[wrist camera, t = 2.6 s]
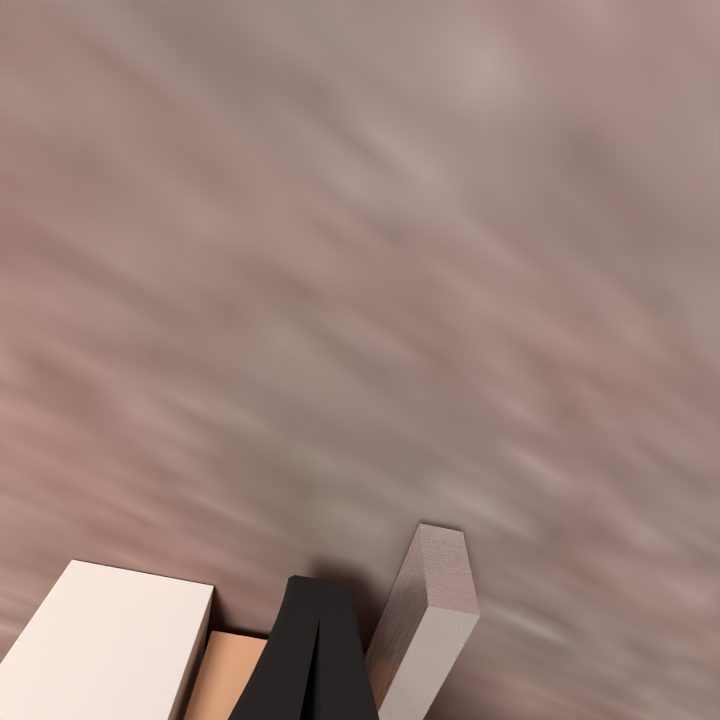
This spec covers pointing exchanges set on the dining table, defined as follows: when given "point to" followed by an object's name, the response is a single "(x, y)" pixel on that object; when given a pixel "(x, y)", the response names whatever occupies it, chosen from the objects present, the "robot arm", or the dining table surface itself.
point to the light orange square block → (223, 675)
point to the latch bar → (422, 624)
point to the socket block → (108, 648)
